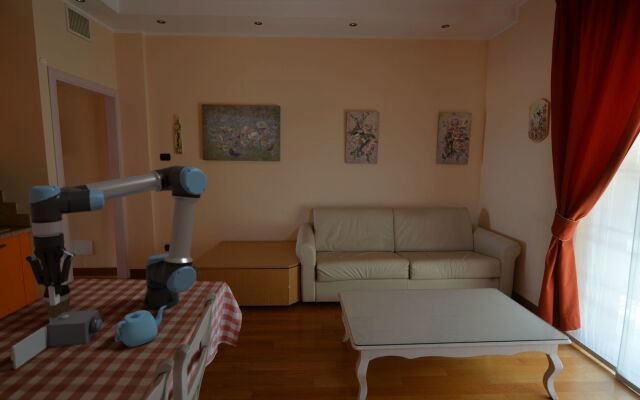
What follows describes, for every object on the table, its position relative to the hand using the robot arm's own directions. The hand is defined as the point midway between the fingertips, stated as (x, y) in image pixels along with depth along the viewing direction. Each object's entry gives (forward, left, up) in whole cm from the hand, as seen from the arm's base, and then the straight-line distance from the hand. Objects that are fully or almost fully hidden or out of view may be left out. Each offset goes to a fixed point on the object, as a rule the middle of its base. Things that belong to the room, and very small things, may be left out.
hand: (55, 303), depth 106 cm
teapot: (-23, -9, -19) cm, 31 cm away
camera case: (0, -12, -19) cm, 23 cm away
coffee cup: (+13, -25, -19) cm, 34 cm away
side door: (+9, -1, -19) cm, 21 cm away
